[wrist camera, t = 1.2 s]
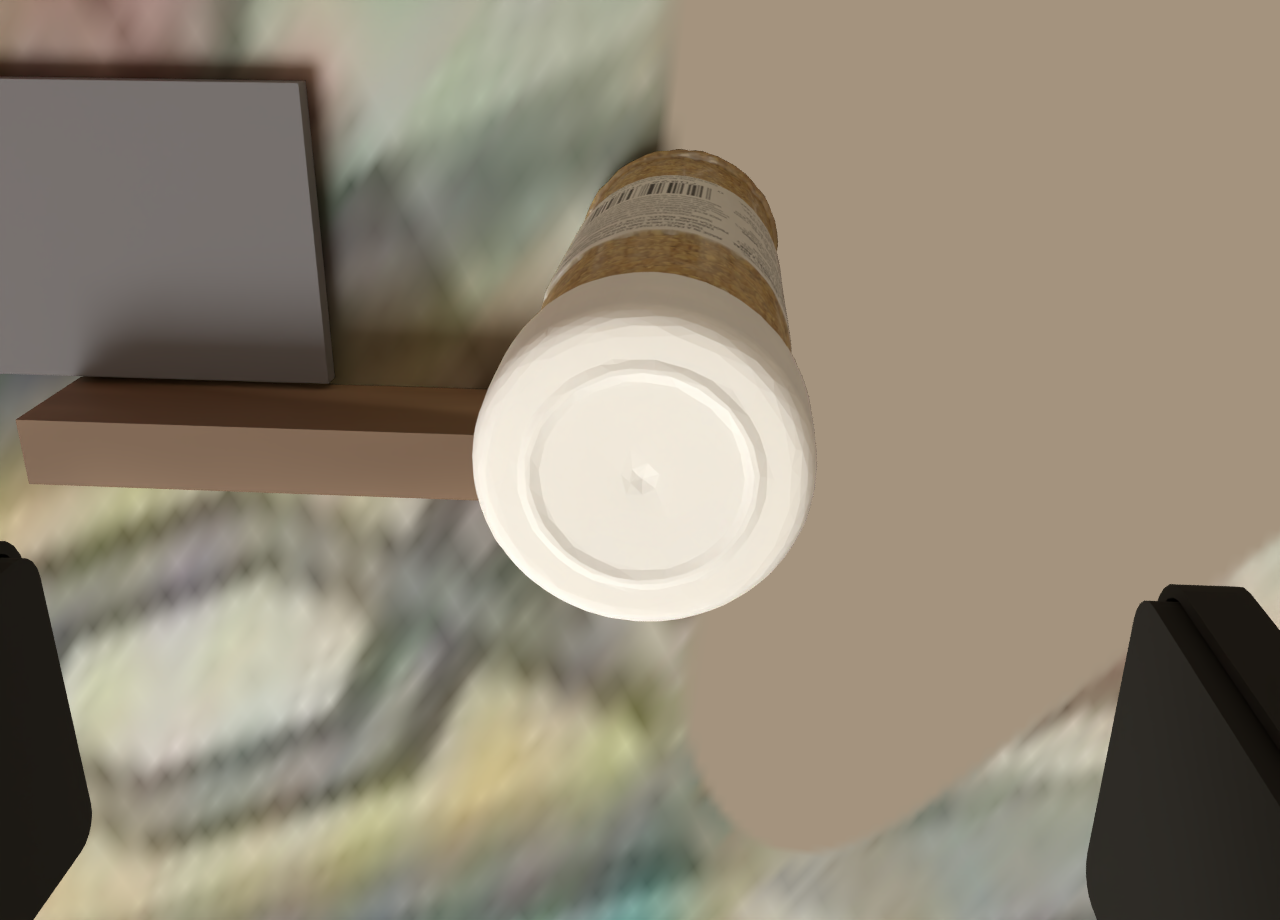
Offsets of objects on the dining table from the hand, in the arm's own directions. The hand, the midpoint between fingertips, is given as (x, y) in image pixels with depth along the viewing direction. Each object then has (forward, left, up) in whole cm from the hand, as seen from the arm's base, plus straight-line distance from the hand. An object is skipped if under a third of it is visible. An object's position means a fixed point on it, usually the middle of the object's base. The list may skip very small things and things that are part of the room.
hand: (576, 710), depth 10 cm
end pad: (0, +13, -19) cm, 23 cm away
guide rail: (-5, +6, -19) cm, 21 cm away
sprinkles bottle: (0, 0, -19) cm, 19 cm away
